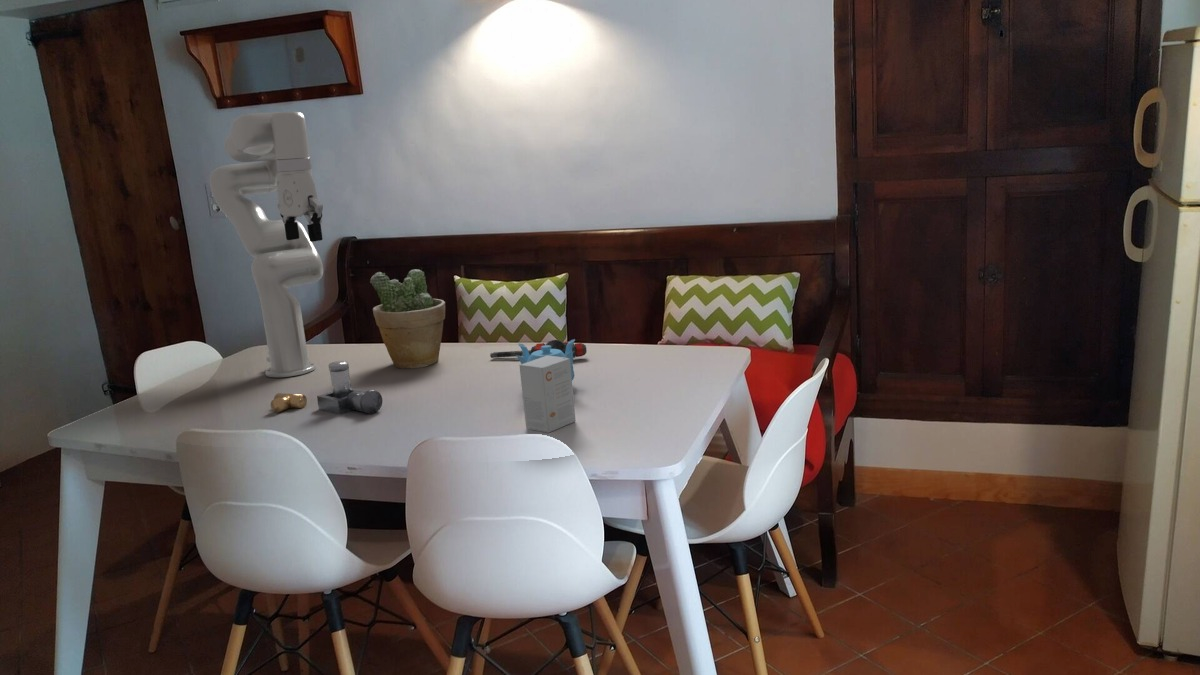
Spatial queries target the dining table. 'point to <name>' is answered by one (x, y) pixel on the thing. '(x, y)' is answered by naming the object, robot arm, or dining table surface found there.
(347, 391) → the silver capped cylinder
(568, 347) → the teapot
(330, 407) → the grey framed piece
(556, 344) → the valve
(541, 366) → the small box
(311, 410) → the dining table surface
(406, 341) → the potted plant
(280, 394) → the bronze tee
